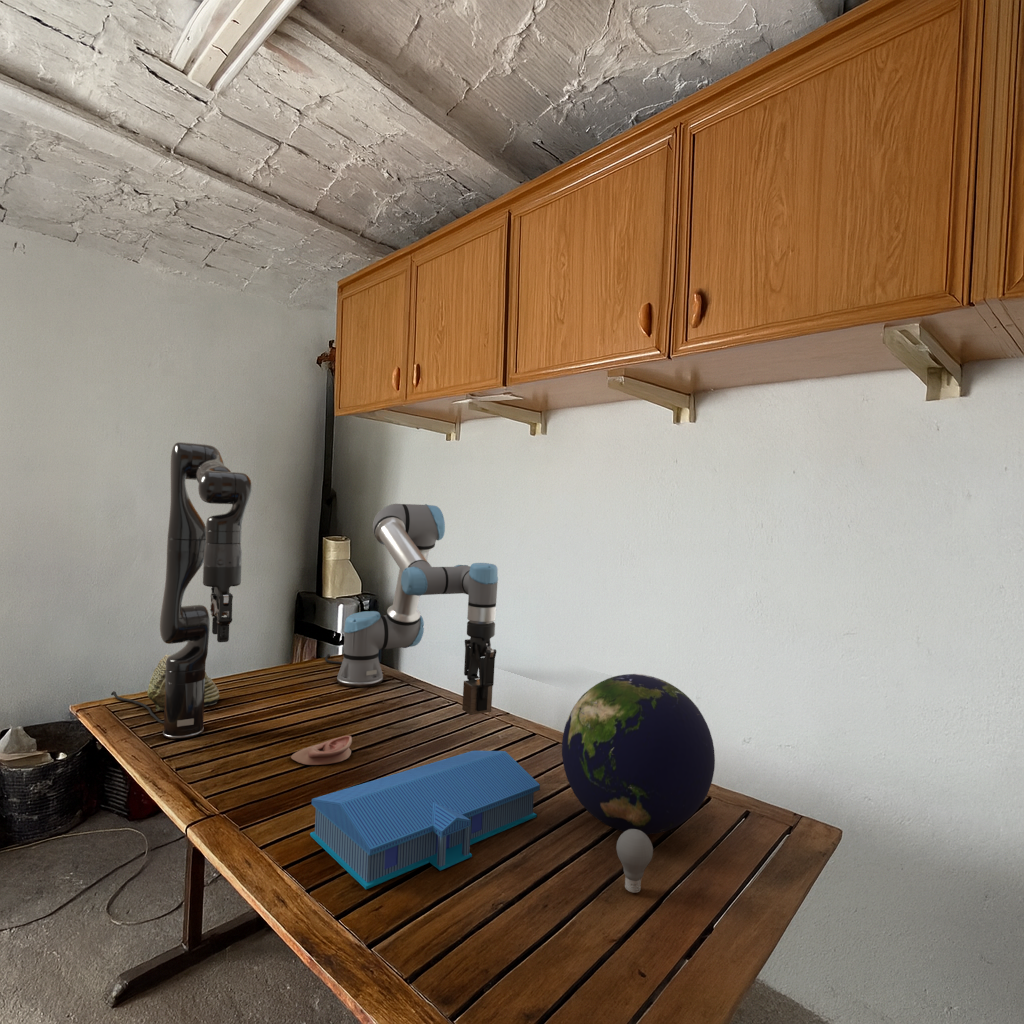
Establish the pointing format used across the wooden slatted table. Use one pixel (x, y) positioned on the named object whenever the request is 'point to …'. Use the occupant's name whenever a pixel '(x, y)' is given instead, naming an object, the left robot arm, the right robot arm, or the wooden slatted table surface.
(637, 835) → the light bulb
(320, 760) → the anatomical model
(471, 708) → the block
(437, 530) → the right robot arm
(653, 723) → the globe
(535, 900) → the wooden slatted table surface
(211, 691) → the fossil
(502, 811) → the model building
